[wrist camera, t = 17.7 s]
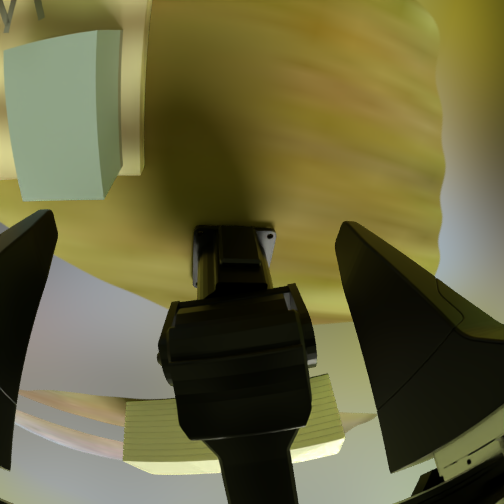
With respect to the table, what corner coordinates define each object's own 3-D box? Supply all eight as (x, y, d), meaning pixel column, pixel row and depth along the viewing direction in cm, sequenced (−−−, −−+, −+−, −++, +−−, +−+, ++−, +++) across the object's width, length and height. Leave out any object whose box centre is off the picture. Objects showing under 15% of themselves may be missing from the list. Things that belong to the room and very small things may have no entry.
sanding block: (123, 165, 19) (103, 199, 16) (51, 168, 18) (23, 201, 15) (123, 29, 13) (97, 30, 10) (42, 42, 12) (3, 50, 9)
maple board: (144, 166, 21) (140, 175, 20) (-50, 177, 17) (-59, 186, 16) (177, -121, 7) (175, -130, 6) (-53, -46, 4) (-64, -46, 3)
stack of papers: (152, 422, 51) (152, 474, 43) (126, 400, 44) (122, 461, 36) (325, 398, 50) (338, 453, 42) (327, 372, 44) (345, 437, 35)
